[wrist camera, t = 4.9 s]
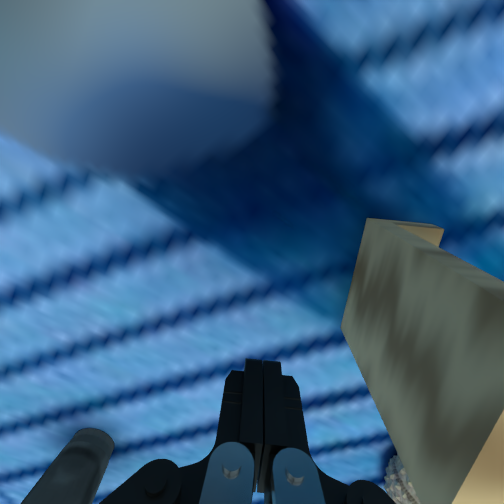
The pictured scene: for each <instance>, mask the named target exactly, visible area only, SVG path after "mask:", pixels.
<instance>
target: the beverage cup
mask: <svg viewBox="0 0 504 504" xmlns="http://www.w3.org/2000/svg"><path fill="white" fill-rule="evenodd" d="M113 449H114V442H113V440H112V438H111V437H110V436H109V435H108V434H106V433H105V432H103V431H100V430H98V429H93V428H86V429H82V430H79V431H78V432H77V433H76V434H75V435H74V437H73V438H72V439H71V440H70V442H69V443H68V444H67V445H66V446H65V447H64V448H63V450H62V451H61V452H60V453H59V455H58V456H57V457H56V459H55V460H54V461H53V462H52V464H51V465H50V466H49V468H48V469H47V470H46V471H45V473H44V474H43V475H42V477H41V478H40V479H39V481H38V482H37V483H36V484H35V486H34V487H33V488H32V490H31V491H30V492H29V493H28V495H27V496H26V497H25V499H24V500H23V501H22V502H21V504H92V502H93V500H94V497H95V495H96V492H97V490H98V488H99V485H100V483H101V480H102V478H103V475H104V473H105V470H106V468H107V466H108V463H109V459H110V456H111V453H112V451H113Z"/></svg>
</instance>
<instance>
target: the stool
mask: <svg viewBox="0 0 504 504" xmlns="http://www.w3.org/2000/svg"><path fill="white" fill-rule="evenodd" d="M443 232H444V229H443V228H440V227H438V226H435V225H433V224H426V223H415V222H405V221H395V220H384V219H374V218H367V220H366V224H365V228H364V232H363V236H362V241H361V245H360V249H359V253H358V257H357V261H356V266H355V270H354V274H353V278H352V282H351V286H350V291H349V295H348V299H347V303H346V307H345V311H344V316H343V320H342V324H341V330H342V332H343V334H344V336H345V338H346V341H347V343H348V345H349V347H350V349H351V352H352V354H353V356H354V358H355V360H356V363H357V365H358V367H359V369H360V371H361V374H362V376H363V378H364V380H365V382H366V385H367V387H368V389H369V391H370V393H371V396H372V398H373V400H374V402H375V404H376V407H377V409H378V411H379V413H380V415H381V418H382V420H383V422H384V424H385V426H386V429H387V431H388V433H389V435H390V437H391V440H392V442H393V444H394V446H395V448H396V451H397V453H398V455H399V457H400V459H401V462H402V464H403V466H404V468H405V470H406V473H407V475H408V477H409V479H410V481H411V484H412V486H413V488H414V490H415V492H416V495H417V497H418V499H419V501H420V503H421V504H504V282H503V281H501V280H499V279H497V278H495V277H494V276H492V275H490V274H488V273H486V272H484V271H482V270H480V269H478V268H477V267H475V266H473V265H471V264H469V263H467V262H465V261H463V260H461V259H460V258H458V257H456V256H454V255H452V254H450V253H448V252H446V251H444V250H443V249H441V248H439V247H438V246H439V243H440V240H441V238H442V235H443Z"/></svg>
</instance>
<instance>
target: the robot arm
mask: <svg viewBox="0 0 504 504" xmlns="http://www.w3.org/2000/svg"><path fill="white" fill-rule="evenodd" d="M256 484H257V492H260V493H264V504H396V503H395V502H394V501H393V500H392V498H391V497H390V496H389V495H388V494H387V493H386V492H385V491H384V490H383V489H381V488H380V487H379V486H377V485H376V484H374V483H372V482H370V481H366V480H357V481H355V482H353V483H352V484H351V485H350V486H348V485H346V484H344V483H342V482H340V481H338V480H335V479H333V478H331V477H329V476H328V475H326V474H325V473H323V472H322V471H321V470H320V469H319V468H318V467H317V465H316V464H315V462H314V461H313V459H312V457H311V455H310V452H309V447H308V441H307V435H306V428H305V422H304V416H303V411H302V404H301V397H300V391H299V386H298V385H297V383H296V381H295V380H294V378H293V377H292V376H285V375H282V371H281V362H278V361H268V360H263V365H262V360H257V359H247V358H246V359H245V368H244V371H235V370H232V371H231V372H230V374H229V375H228V377H227V378H226V380H225V386H224V393H223V399H222V405H221V411H220V417H219V424H218V430H217V436H216V442H215V445H214V447H213V449H212V451H211V452H210V453H209V455H207V456H206V457H205V458H204V459H203V460H201V461H199V462H197V463H195V464H191V465H188V466H184V467H180V468H178V466H177V465H176V464H175V463H174V462H172V461H170V460H168V459H157V460H153V461H151V462H149V463H147V464H146V465H144V466H143V467H142V468H140V469H139V470H138V471H137V472H136V473H135V474H133V475H132V476H131V477H130V478H129V479H127V480H126V481H125V482H124V483H123V484H122V485H120V486H119V487H118V488H117V489H116V490H114V491H113V492H112V493H111V494H110V495H108V496H107V497H106V498H105V499H104V500H103V501H101V502H100V503H99V504H251V502H252V495H253V492H255V490H256Z"/></svg>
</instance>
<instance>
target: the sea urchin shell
mask: <svg viewBox="0 0 504 504" xmlns="http://www.w3.org/2000/svg"><path fill="white" fill-rule="evenodd" d="M388 464H389V466H388V467H387V468H385V469H386V473H387V475H386V476H385V477H384V478H385V481H386V484H385V485H384V488H385V490H386V491H387V494H388V495H389V496H390V497H391V498H392V500H393V501H394V502H395V503H396V504H421V503H420V501H419V499H418V497H417V495H416V492H415V490H414V488H413V486H412V484H411V481H410V479H409V477H408V475H407V473H406V470H405V468H404V466H403V464H402V462H401V459H400V457H399V455H398V453H397V456H395V455H394V456H393V458H391V459H390V462H388Z"/></svg>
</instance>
